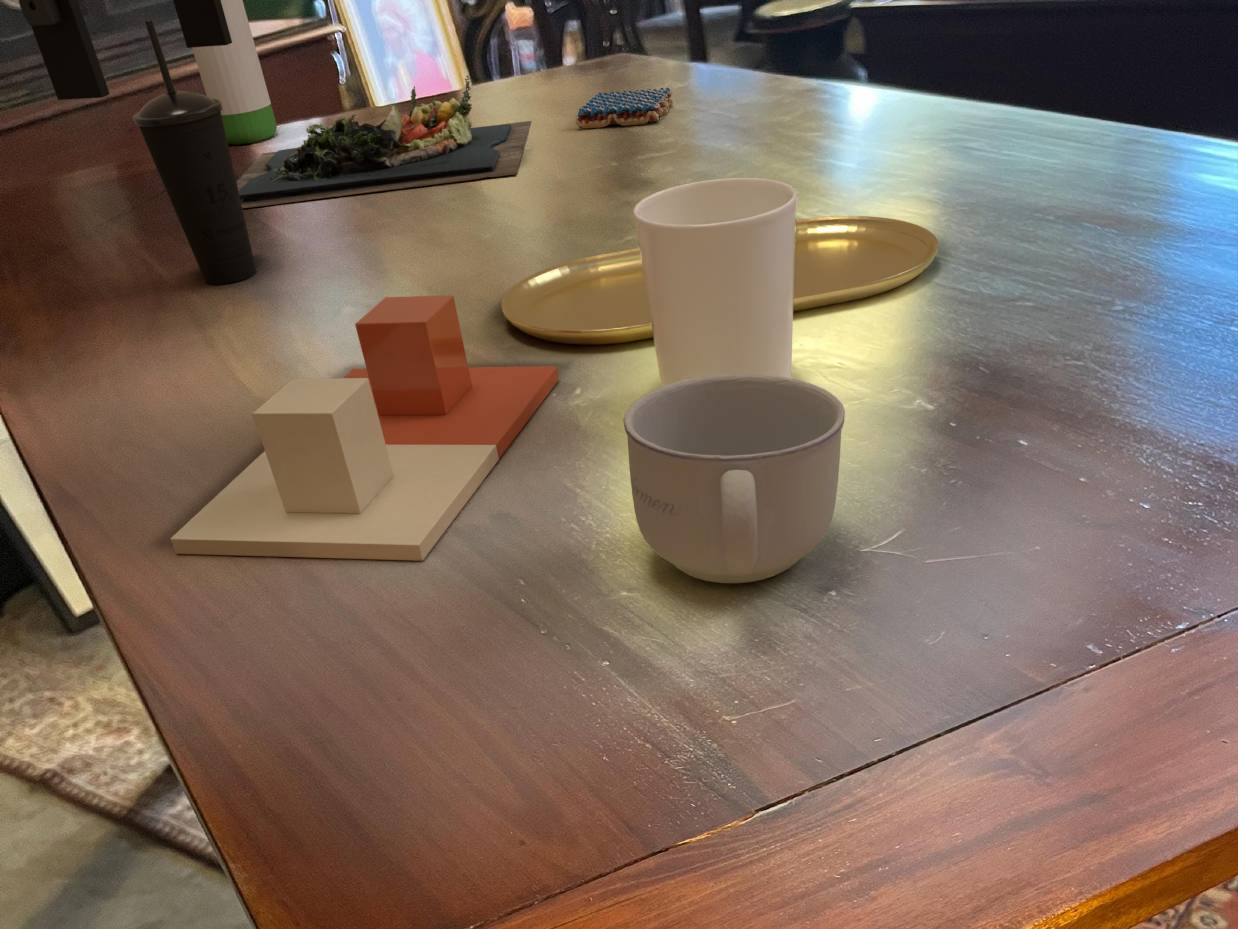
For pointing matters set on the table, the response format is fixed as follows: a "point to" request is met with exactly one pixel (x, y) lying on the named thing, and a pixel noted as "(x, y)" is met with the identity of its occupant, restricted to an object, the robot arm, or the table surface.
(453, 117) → the plated dish
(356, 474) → the cream block
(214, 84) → the wine bottle
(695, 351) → the white tumbler
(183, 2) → the robot arm
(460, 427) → the sorting board
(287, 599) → the table surface
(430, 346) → the terracotta block
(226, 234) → the drinking cup
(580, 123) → the blueberry tart
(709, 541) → the teacup
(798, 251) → the serving platter
